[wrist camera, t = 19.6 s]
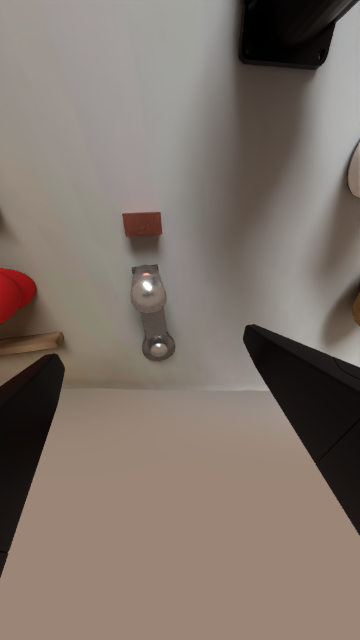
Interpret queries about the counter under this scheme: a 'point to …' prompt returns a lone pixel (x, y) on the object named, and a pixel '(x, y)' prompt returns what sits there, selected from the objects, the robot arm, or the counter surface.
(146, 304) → the crank
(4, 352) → the bay
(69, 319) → the counter surface
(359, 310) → the potato
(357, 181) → the can
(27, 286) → the cap
